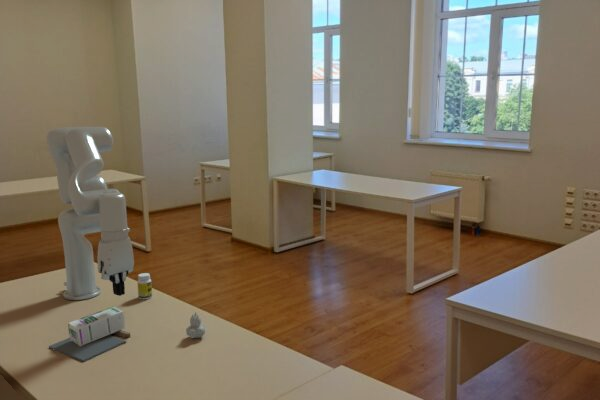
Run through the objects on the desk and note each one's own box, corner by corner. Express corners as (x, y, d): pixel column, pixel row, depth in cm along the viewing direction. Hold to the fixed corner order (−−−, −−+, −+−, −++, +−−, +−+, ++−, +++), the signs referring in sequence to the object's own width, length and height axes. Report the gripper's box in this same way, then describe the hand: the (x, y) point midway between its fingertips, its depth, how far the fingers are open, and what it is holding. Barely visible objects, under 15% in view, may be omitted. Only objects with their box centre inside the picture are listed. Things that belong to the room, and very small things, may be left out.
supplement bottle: (150, 299, 193) (148, 276, 191) (136, 299, 193) (135, 277, 191) (154, 295, 198) (152, 272, 196) (140, 295, 198) (139, 272, 196)
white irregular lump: (208, 334, 164) (207, 308, 163) (199, 343, 158) (198, 317, 156) (191, 332, 166) (190, 307, 164) (182, 342, 159) (180, 316, 158)
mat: (48, 347, 157) (48, 346, 156) (91, 330, 168) (91, 328, 168) (83, 362, 148) (83, 360, 148) (126, 342, 159) (125, 340, 159)
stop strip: (101, 329, 169) (101, 325, 169) (104, 328, 170) (104, 324, 169) (127, 338, 162) (127, 334, 162) (130, 336, 163) (130, 333, 163)
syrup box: (123, 310, 165) (76, 327, 154) (125, 329, 166) (78, 347, 156) (113, 305, 168) (67, 322, 158) (116, 323, 170) (69, 341, 160)
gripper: (126, 228, 170) (130, 284, 174) (84, 238, 158) (89, 299, 162) (143, 231, 166) (147, 289, 170) (101, 242, 154) (106, 304, 157)
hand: (119, 294), depth 166 cm, fingers closed
